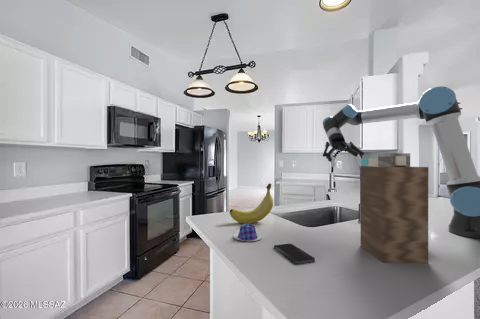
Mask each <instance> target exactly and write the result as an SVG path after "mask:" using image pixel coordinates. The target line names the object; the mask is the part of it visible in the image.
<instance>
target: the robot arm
mask: <svg viewBox="0 0 480 319" xmlns="http://www.w3.org/2000/svg"><path fill="white" fill-rule="evenodd" d="M460 116H462V112H461V109H460V105H459V102H458V100H457V95H456V93H455V91H454V90H453V89H451V88H450V87H448V86H443V85H440V86H434V87H431V88H428V89H427V90H426V91H424V92H423V93H422V94H421V95H420V97H419V100H418V101H417V102H412V103H411V102H410V103H404V104H397V105H396V104H395V105H391V106H384V107H378V108H371V109H363V110H358V109H357V108H356V107H355V106H354V105H353V104H351V103H348V104H347V105H345V106H343V107H342V108H341V109H340V110H339V111H338V112H337V113H336V114H335V115H333V116H327V117H325V118H324V119H323V120H322V127H323V130H324V131H325V134H326V136H327V138H328V141H326V142H325V145H324V146H325V147H324V151H323V154H322V157H323V158H324V157H325V159H327V161H328V162H330V164H331V167H332V168H335V165H336V164H337V163H336V161H335V157H334V156H333V153H334V152H335V151H344V152H346V153H349V154H351V155H352V156H354V157H355V160H356V161H357V163H358V165H359V167H360V169H361V159H364V158H363V156H364V154H365V152H364V151H363V150H361V149H360V148H359V147H357V146H356V145H355V144H354V143H353V141H350V142H348V143H347V142H346V139H345V137H344V135H343V133H342V131H341V128H342V127H343V126H345V125H346V124H348V125H351V126H359V125H362V124H369V123H370V124H371V123H379V122H389V121H399V120H406V119H407V120H408V119H419V120H425V123H426V125H430V126H431V128H432V130H433V133H434V137H435V140H436V142H437V146H438V149H439V151H440V155H441V158H442V161H443V164H444V167H445V169H446V170H445V171H446V173H447V176H448V181H447V182H446V184H445V185H446V188H447V190H448V195H449V202H450V205H451V206H452V208H453V215H452V218H451V220H450V223H449V224H448V232H449V233H452V234H455V235H458V236H460V237H462V236H463V237H466V238H471V239H472V238H473V239H479V240H480V175H478V172H477V169H476V166H475V164H474V161H473V159H472V158H473V157H472V156H471V155H472V154H471V151H470V149H469V147H468V144H467V141H466V138H465V136H464V132H463V129H462V126H461V124H460V121H459V118H460ZM330 147H331V149H330V150H329V148H330ZM328 150H329V151H328Z"/></svg>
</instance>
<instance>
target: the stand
mask: <svg viewBox="0 0 480 319" xmlns="http://www.w3.org/2000/svg"><path fill="white" fill-rule="evenodd" d="M377 156H378V157H377V158H378V166H361V168H360V248H362V249H364V250H366V251H367V252H368V253H370V255H371V256H372V255H373V256H374V257H375V258H376V259H378V260H379V261H381V262H382V263H396V264H397V263H399V264H400V263H401V264H403V263H404V264H405V263H406V264H407V263H409V264H410V263H411V264H412V263H413V264H414V263H416V264H425V263H426V264H428V263H429V167H428V166H411V153H410V152H409V153H403V152H401V153H399V152H398V153H397V152H390V153H389V152H387V153H384V152H383V153H377ZM393 156H406V166H393Z"/></svg>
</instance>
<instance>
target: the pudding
mask: <svg viewBox="0 0 480 319" xmlns="http://www.w3.org/2000/svg"><path fill="white" fill-rule="evenodd" d="M232 237H233V238H234V239H235V240H238V241H242V242H251V241H252V242H255V241H259V240H261V239H262V238H263V235H262V234H260V233H258V232H257V230H256V225H254V224H253V223H248V224H246V223H242V224H241V226H239V232H237V233H234V234H233V236H232Z"/></svg>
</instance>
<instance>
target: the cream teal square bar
mask: <svg viewBox="0 0 480 319" xmlns="http://www.w3.org/2000/svg"><path fill="white" fill-rule="evenodd" d="M361 166H378V157H365V158H363V159H361ZM393 166H406V156H393Z"/></svg>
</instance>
